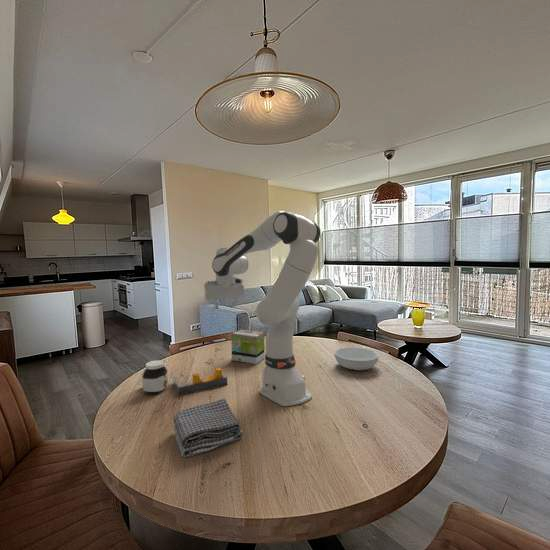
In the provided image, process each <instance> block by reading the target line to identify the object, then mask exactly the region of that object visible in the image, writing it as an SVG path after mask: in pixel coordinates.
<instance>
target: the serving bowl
mask: <svg viewBox="0 0 550 550" xmlns="http://www.w3.org/2000/svg"><path fill="white" fill-rule="evenodd" d="M334 358H335V360H336V362H337V363H338V364H339V365H340V366H341V367H343V368H346V369H349V370H352V369H353V371H365V370H370V369H372V368H374V367H375V366H376V365H377V363H378V361H379V353H377V352H375V351H374V350H371V349H369V348H368V349H367V348H362V347H354V346H353V347H340V348H338V349H336V350H334Z"/></svg>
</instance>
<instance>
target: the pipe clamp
mask: <svg viewBox="0 0 550 550" xmlns="http://www.w3.org/2000/svg"><path fill="white" fill-rule="evenodd" d="M222 373H223V370H222V368H221V367H216V368H215V369H214V373H213V374H211V375H209V376H208V377H206V378H204V379H201V377H200V374H199V373H198V372H194V373H192V384H196V383H201V382H206V381H210V380H215V379H220V378H222Z"/></svg>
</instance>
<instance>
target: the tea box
mask: <svg viewBox="0 0 550 550" xmlns="http://www.w3.org/2000/svg"><path fill="white" fill-rule="evenodd" d="M230 339H231V342H230V343H231V361H235V362H240V363H241V362H242V363H247V364H252V365H258V364H259V363H260V362H262V361H263V360H265V332H264V331H255V330H247V329H239V330H237V331H235V332H233V333H231V338H230ZM262 359H263V360H262ZM257 363H258V364H257Z"/></svg>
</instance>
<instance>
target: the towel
mask: <svg viewBox="0 0 550 550" xmlns="http://www.w3.org/2000/svg"><path fill="white" fill-rule="evenodd" d="M173 422H174V425H173V432H174V435H175V439H176V443H177V445H178V448H179V451H180V455H181V458H182V459H184V458H191V457H194V456H196V455H199V454H202V453H205V452H208V451H212V450H214V449H216V448H219V447H221V446H223V445H226V444H229V443H232V442H235V441H240V440H241V439H242V437H243V434H244V431H243V430H242V429H241V425H240V422H239V421H238V419H237V417H236V416H235V414H234V413H233V411H232V410H231V407H230V405H229V404H228V402H227V400H226V399H225V398H222V399H219V400H216V401H212V402H208V403H204V404H199V405H195V406H193V407H188V408H184V409H180V410H179V411H178V412H177V413H176V414H174V416H173Z"/></svg>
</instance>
